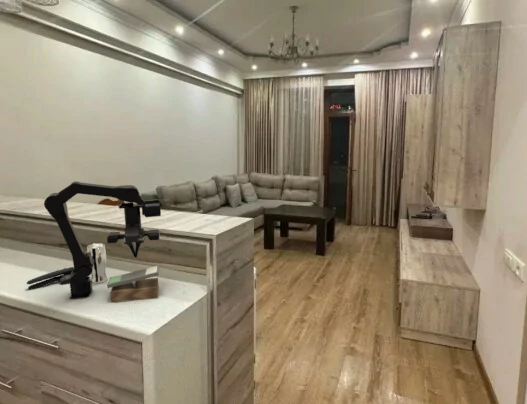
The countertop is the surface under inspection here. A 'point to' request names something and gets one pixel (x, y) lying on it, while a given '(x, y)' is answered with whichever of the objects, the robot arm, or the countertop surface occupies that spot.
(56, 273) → the can opener
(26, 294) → the countertop surface
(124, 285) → the switch base
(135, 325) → the countertop surface
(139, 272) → the grey flat panel
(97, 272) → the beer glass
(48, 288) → the countertop surface
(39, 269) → the countertop surface
